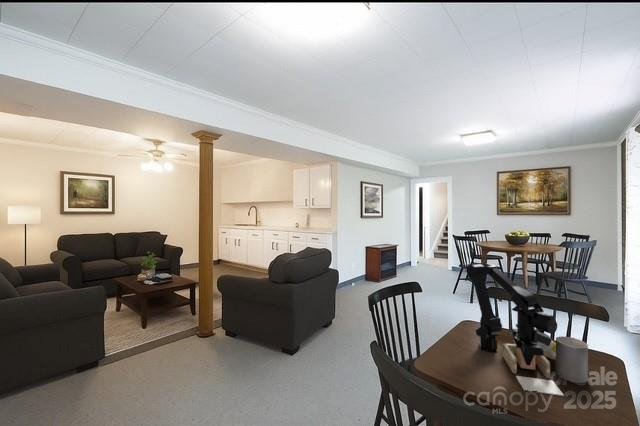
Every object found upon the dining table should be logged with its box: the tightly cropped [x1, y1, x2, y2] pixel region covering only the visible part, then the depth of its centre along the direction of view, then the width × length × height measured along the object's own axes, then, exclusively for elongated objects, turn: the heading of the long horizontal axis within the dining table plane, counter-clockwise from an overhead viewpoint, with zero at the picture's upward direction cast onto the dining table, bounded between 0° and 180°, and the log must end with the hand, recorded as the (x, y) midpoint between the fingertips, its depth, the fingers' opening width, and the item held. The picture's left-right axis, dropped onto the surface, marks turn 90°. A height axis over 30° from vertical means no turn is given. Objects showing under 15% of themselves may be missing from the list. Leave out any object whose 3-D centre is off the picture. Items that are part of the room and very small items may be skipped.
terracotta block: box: [517, 348, 536, 370], centre depth 122 cm, size 5×5×6 cm
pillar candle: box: [555, 335, 589, 384], centre depth 115 cm, size 10×10×15 cm
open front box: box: [502, 342, 551, 379], centre depth 123 cm, size 12×14×6 cm
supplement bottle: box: [534, 340, 556, 360], centre depth 128 cm, size 7×7×13 cm
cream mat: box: [515, 375, 565, 397], centre depth 110 cm, size 12×9×1 cm
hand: (525, 361), depth 122 cm, fingers closed on terracotta block, 5 cm apart
